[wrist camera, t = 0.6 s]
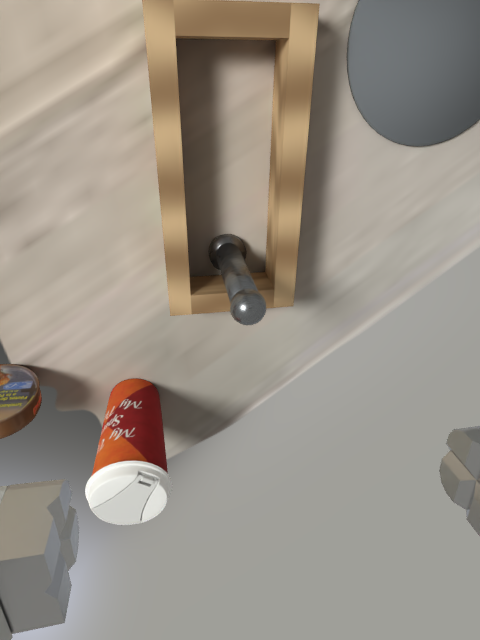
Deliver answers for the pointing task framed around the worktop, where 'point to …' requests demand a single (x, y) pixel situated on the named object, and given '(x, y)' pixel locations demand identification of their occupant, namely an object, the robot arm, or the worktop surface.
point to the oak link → (286, 139)
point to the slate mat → (416, 67)
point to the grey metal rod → (237, 279)
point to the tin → (17, 398)
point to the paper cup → (130, 457)
